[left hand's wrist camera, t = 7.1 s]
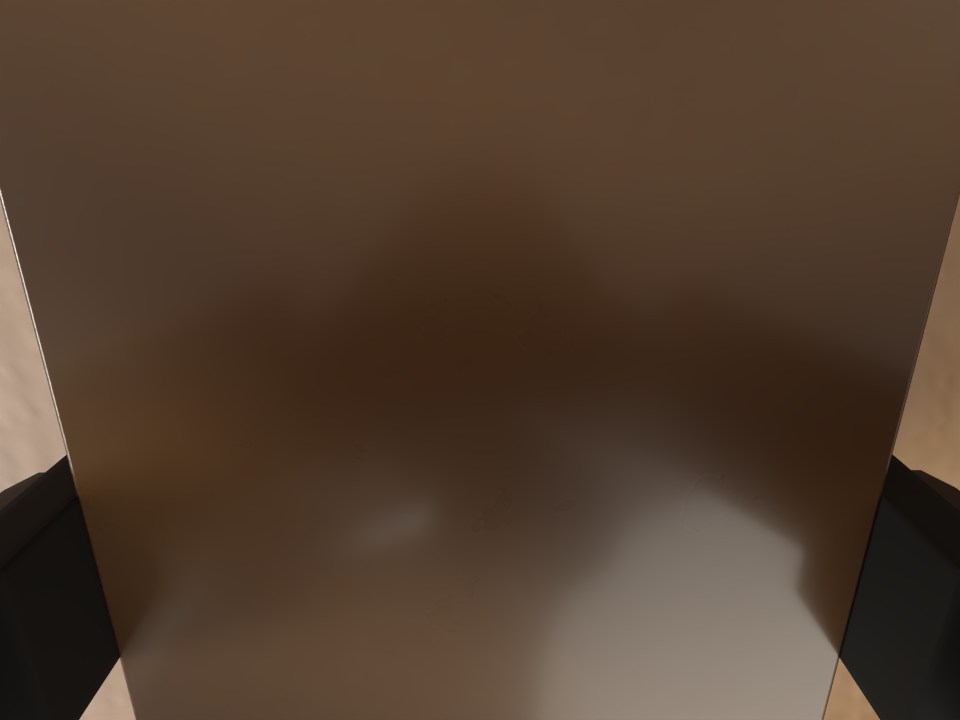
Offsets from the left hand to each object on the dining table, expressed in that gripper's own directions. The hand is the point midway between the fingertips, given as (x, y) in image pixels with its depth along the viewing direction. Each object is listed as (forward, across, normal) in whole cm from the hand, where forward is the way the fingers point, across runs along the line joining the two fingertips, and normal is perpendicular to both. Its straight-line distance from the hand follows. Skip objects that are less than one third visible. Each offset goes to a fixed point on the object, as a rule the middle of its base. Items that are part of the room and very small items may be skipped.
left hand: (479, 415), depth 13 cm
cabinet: (+5, 0, -4) cm, 6 cm away
